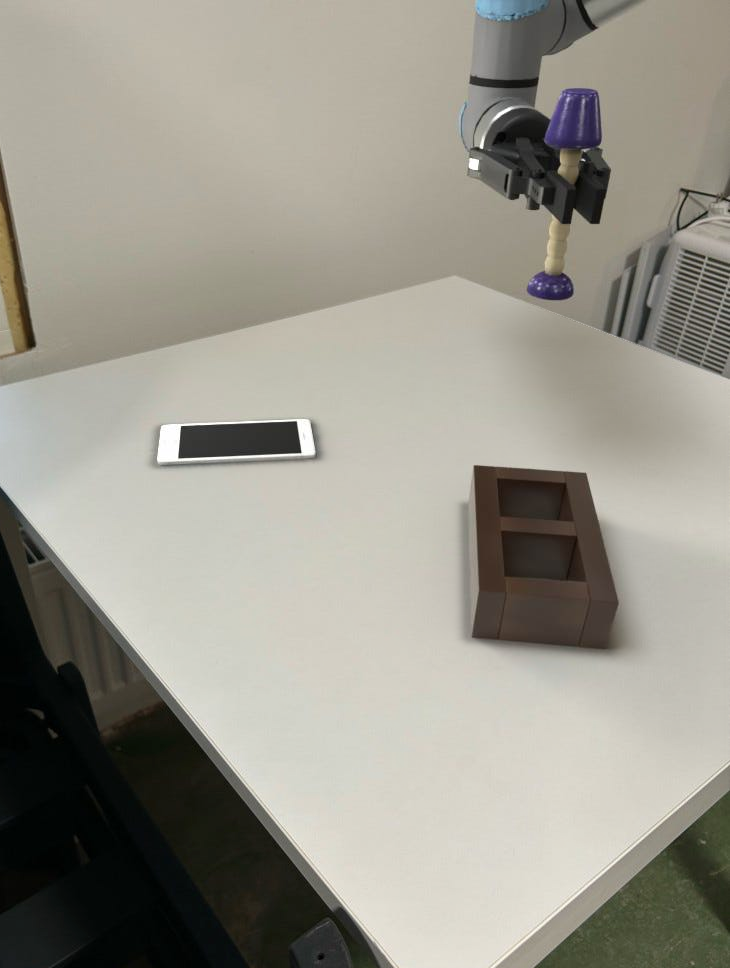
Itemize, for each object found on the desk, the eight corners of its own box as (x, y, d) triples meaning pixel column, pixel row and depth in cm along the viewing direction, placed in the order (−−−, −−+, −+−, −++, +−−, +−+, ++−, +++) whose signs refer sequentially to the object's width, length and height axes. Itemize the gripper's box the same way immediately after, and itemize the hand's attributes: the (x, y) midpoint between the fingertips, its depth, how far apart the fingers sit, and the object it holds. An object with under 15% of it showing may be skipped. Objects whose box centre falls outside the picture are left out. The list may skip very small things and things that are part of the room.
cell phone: (162, 429, 89) (161, 424, 89) (309, 423, 91) (309, 418, 90) (157, 467, 83) (156, 461, 83) (316, 459, 84) (316, 454, 84)
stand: (575, 518, 77) (586, 472, 74) (604, 653, 62) (619, 602, 59) (467, 510, 78) (473, 464, 75) (470, 641, 63) (478, 590, 60)
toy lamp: (529, 301, 74) (565, 94, 65) (513, 284, 78) (544, 85, 68) (580, 300, 75) (623, 94, 65) (561, 283, 79) (599, 85, 69)
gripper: (580, 185, 88) (661, 253, 69) (443, 185, 88) (487, 254, 69) (594, 106, 84) (685, 156, 65) (450, 106, 83) (499, 156, 64)
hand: (583, 206), depth 67 cm, fingers closed on toy lamp, 2 cm apart
